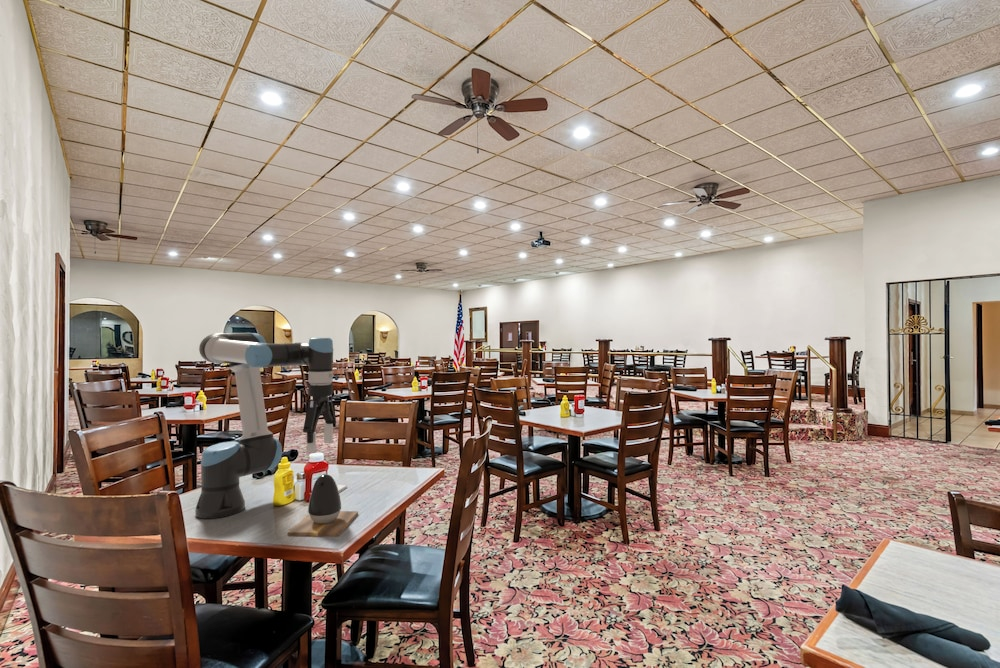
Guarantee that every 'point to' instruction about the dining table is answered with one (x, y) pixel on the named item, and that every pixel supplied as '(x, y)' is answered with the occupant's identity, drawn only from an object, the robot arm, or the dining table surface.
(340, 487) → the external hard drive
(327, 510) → the dark grey rounded ovoid
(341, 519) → the board
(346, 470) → the dining table surface
